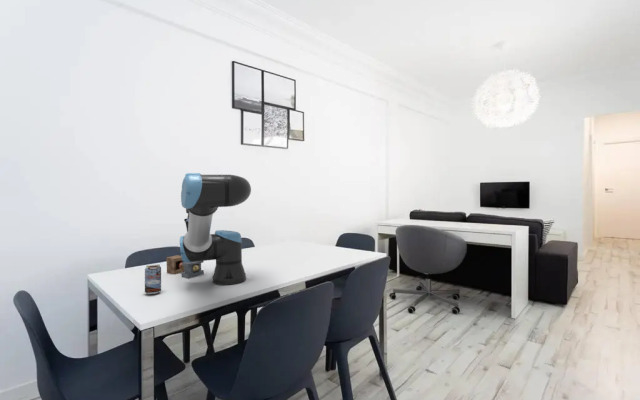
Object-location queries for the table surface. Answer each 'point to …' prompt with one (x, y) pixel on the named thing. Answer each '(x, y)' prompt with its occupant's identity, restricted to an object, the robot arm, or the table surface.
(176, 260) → the socket block
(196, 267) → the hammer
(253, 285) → the table surface
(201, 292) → the table surface
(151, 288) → the beverage can
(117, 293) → the table surface
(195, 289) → the table surface
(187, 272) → the grey slotted clamp block
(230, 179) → the robot arm
